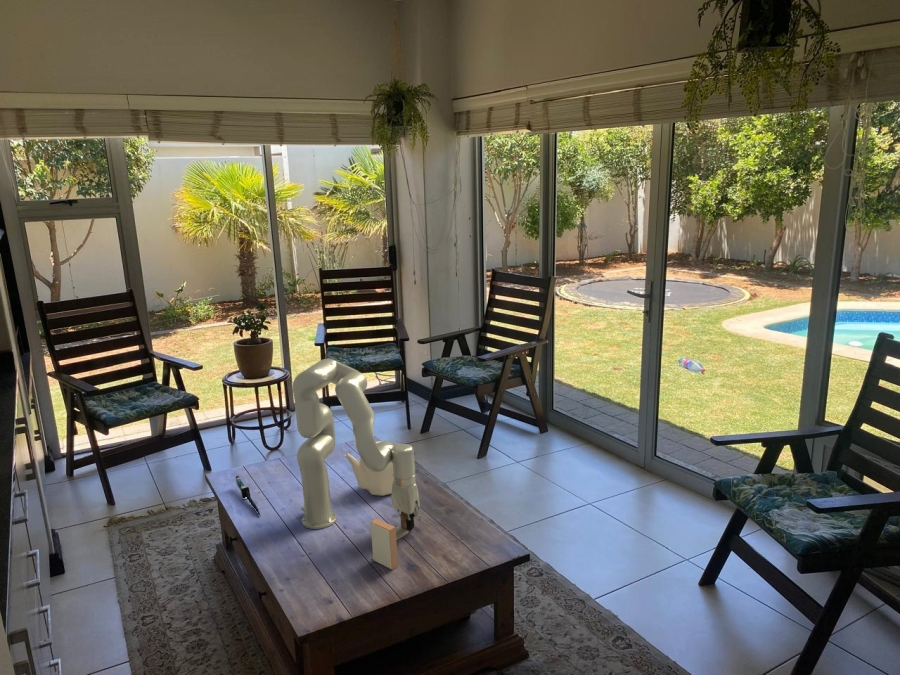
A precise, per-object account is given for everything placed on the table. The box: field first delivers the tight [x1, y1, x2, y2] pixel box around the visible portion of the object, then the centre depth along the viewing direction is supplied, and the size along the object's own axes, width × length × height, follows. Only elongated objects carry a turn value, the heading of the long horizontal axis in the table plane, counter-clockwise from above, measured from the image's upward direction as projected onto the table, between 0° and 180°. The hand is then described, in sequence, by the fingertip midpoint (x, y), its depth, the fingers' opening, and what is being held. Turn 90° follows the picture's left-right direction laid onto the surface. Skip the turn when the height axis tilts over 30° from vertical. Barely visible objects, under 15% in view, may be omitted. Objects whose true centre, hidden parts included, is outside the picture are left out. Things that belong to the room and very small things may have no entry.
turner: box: [395, 512, 413, 541], centre depth 234 cm, size 5×16×6 cm, turn 138°
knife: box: [235, 475, 261, 517], centre depth 264 cm, size 31×3×4 cm, turn 29°
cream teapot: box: [344, 440, 394, 497], centre depth 267 cm, size 16×27×19 cm, turn 118°
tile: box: [370, 518, 399, 571], centre depth 216 cm, size 9×3×14 cm, turn 48°
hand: (407, 526), depth 239 cm, fingers closed on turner
